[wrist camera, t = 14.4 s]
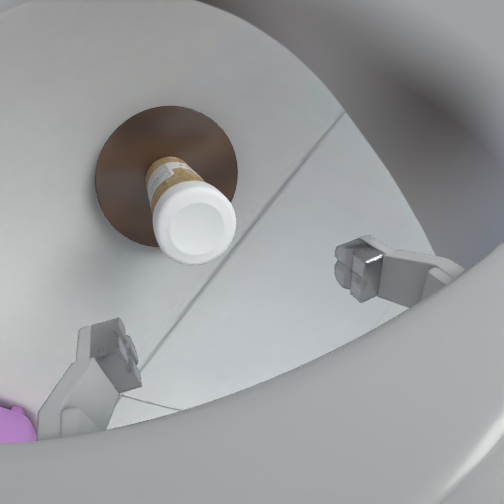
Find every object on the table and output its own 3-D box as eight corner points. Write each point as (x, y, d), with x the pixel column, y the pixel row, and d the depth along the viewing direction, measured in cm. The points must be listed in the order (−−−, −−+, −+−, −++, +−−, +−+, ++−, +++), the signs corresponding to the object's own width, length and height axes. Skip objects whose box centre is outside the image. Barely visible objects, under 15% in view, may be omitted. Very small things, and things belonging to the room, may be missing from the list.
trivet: (82, 128, 23) (80, 129, 21) (222, 94, 26) (227, 93, 25) (119, 257, 29) (119, 264, 28) (241, 221, 33) (246, 226, 32)
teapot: (50, 407, 34) (49, 475, 23) (58, 442, 37) (61, 499, 27) (-49, 380, 24) (-64, 440, 13) (-29, 420, 28) (-36, 473, 17)
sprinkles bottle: (201, 177, 28) (254, 224, 17) (169, 211, 28) (199, 282, 17) (167, 145, 25) (197, 169, 14) (134, 182, 26) (137, 236, 14)
